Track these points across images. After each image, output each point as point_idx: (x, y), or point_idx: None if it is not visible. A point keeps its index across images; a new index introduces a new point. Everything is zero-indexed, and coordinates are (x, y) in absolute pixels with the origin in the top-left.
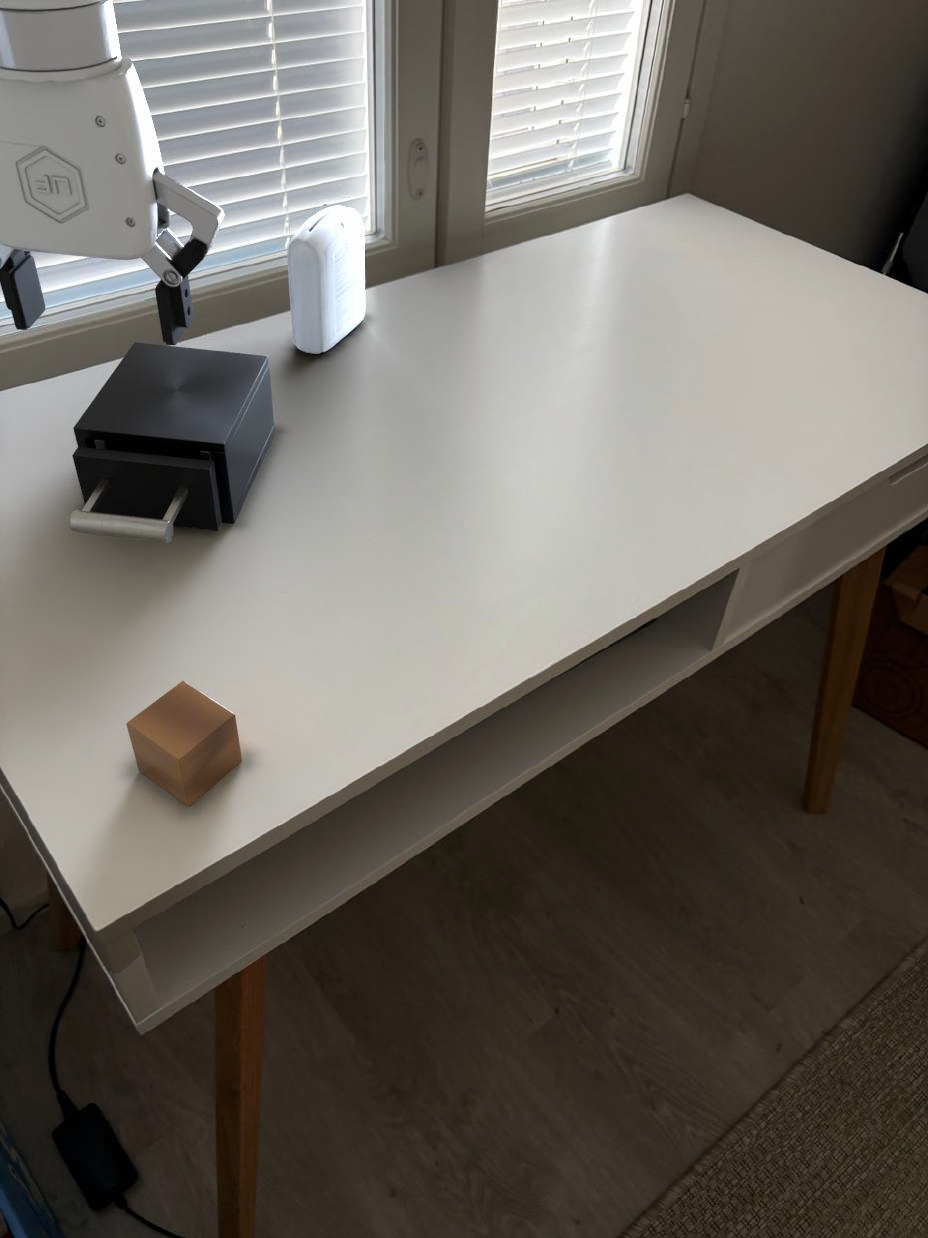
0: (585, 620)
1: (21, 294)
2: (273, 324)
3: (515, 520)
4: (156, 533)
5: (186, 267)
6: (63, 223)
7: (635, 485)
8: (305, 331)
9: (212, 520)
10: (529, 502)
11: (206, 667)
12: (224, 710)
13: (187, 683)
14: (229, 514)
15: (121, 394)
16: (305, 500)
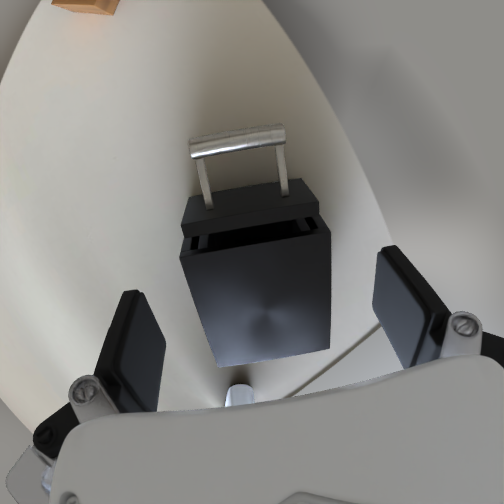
0: None
1: (403, 292)
2: (275, 396)
3: (37, 283)
4: (197, 138)
5: (68, 411)
6: (288, 493)
7: (17, 325)
8: (241, 396)
9: (190, 200)
10: (42, 300)
11: (128, 63)
12: (57, 1)
13: (90, 5)
14: None
15: (310, 290)
16: (155, 259)
